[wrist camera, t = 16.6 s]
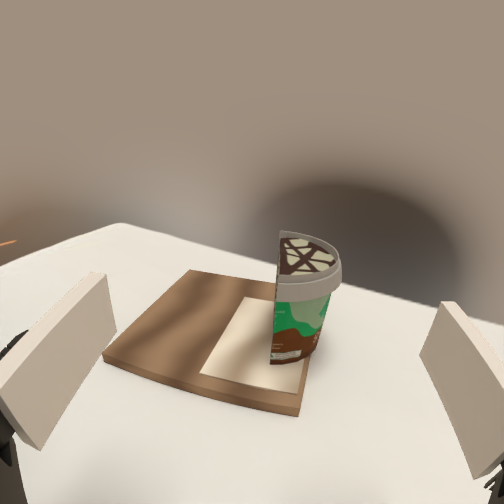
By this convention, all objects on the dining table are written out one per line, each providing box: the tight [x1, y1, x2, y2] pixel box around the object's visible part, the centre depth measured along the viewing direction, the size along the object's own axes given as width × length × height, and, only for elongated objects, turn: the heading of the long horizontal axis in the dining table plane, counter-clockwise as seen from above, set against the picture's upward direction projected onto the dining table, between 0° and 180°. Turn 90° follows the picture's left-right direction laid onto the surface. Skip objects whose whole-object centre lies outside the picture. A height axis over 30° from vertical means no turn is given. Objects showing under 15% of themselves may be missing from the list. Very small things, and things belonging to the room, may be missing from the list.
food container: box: [270, 231, 342, 365], centre depth 30 cm, size 12×6×10 cm, turn 174°
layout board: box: [102, 270, 310, 417], centre depth 35 cm, size 20×22×1 cm
